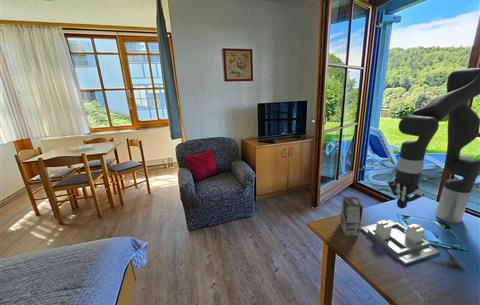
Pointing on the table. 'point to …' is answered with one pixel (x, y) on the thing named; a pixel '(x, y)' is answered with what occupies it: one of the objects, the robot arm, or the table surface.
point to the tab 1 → (383, 229)
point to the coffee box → (351, 216)
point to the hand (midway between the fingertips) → (401, 207)
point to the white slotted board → (401, 244)
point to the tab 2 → (415, 233)
